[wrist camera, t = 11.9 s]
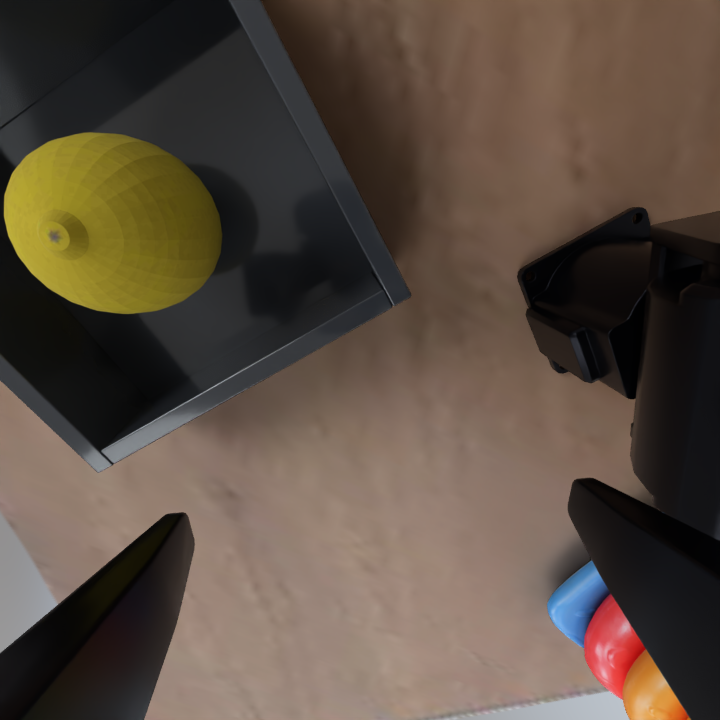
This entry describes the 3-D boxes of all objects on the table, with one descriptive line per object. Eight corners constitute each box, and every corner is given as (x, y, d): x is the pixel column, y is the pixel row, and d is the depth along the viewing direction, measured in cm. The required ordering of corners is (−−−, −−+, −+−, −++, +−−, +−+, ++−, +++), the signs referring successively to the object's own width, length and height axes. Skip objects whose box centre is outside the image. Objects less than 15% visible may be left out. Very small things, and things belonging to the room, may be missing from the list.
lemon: (201, 311, 18) (112, 382, 11) (86, 236, 16) (-115, 258, 9) (266, 212, 17) (215, 214, 9) (146, 120, 15) (-31, 33, 8)
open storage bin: (221, -51, 14) (163, -193, 9) (390, 274, 19) (412, 297, 14) (-71, 163, 16) (-253, 142, 11) (153, 410, 21) (97, 473, 16)
